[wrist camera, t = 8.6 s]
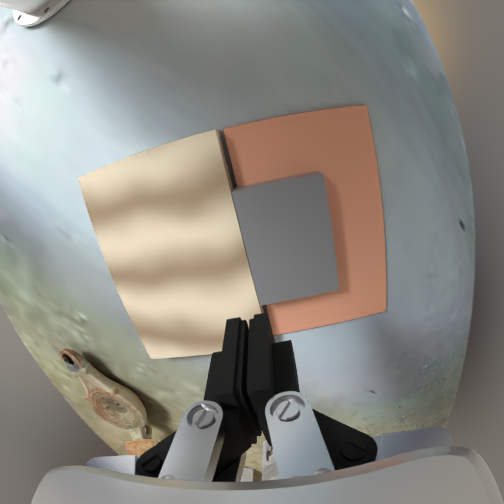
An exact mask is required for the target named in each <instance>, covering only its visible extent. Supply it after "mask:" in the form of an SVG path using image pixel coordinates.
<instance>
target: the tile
mask: <svg viewBox="0 0 504 504" xmlns="http://www.w3.org/2000/svg"><path fill="white" fill-rule="evenodd" d="M232 196H233V200H234V204H235V208H236V212H237V216H238V220H239V224H240V228H241V232H242V236H243V240H244V244H245V248H246V252H247V256H248V260H249V264H250V268H251V272H252V276H253V280H254V284H255V288H256V292H257V296H258V300H259V303H260V306H261V305H266V304H272V303H277V302H283V301H288V300H293V299H298V298H303V297H308V296H313V295H318V294H323V293H328V292H332V291H337V290H339V282H338V272H337V263H336V255H335V247H334V239H333V231H332V224H331V217H330V211H329V204H328V198H327V192H326V186H325V180H324V175H323V173H321V172H319V171H315V172H310V173H304V174H299V175H294V176H289V177H283V178H278V179H274V180H269V181H264V182H259V183H255V184H250V185H245V186H241V187H237V188H234V189H233V190H232Z"/></svg>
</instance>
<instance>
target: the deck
mask: <svg viewBox="0 0 504 504" xmlns="http://www.w3.org/2000/svg"><path fill="white" fill-rule="evenodd" d="M78 179H79V183H80V187H81V190H82V194H83V197H84V200H85V204H86V207H87V210H88V213H89V216H90V219H91V222H92V225H93V228H94V231H95V234H96V237H97V240H98V243H99V245H100V248H101V251H102V253H103V256H104V258H105V261H106V264H107V266H108V269H109V271H110V274H111V276H112V278H113V281H114V283H115V285H116V288H117V290H118V292H119V295H120V297H121V299H122V301H123V303H124V306H125V308H126V310H127V312H128V314H129V316H130V318H131V320H132V323H133V325H134V327H135V329H136V331H137V333H138V335H139V337H140V338H141V340H142V342H143V344H144V346H145V348H146V350H147V352H148V354H149V355H150V357H151V359H158V358H173V357H185V356H196V355H206V354H213V352H219V351H222V346H223V339H224V333H225V326H226V320H227V319H231V318H237V317H240V318H241V319H242V320H246V321H247V324H248V327H249V319H252V318H254V315H255V314H261V313H264V310H263V306H262V305H261V306H260V303H259V300H258V296H257V292H256V288H255V284H254V280H253V276H252V272H251V268H250V264H249V260H248V256H247V252H246V248H245V244H244V240H243V236H242V232H241V228H240V224H239V220H238V216H237V212H236V208H235V204H234V200H233V196H232V190H233V185H232V181H231V177H230V173H229V169H228V165H227V161H226V157H225V153H224V148H223V144H222V140H221V136H220V132H219V130H216V129H214V130H210V131H207V132H203V133H200V134H196V135H193V136H189V137H186V138H183V139H179V140H176V141H173V142H170V143H167V144H164V145H161V146H158V147H155V148H152V149H149V150H146V151H143V152H140V153H138V154H135V155H132V156H130V157H127V158H124V159H122V160H119V161H117V162H114V163H112V164H109V165H107V166H104V167H102V168H100V169H97V170H95V171H93V172H90V173H88V174H86V175H83V176H81V177H79V178H78Z"/></svg>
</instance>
